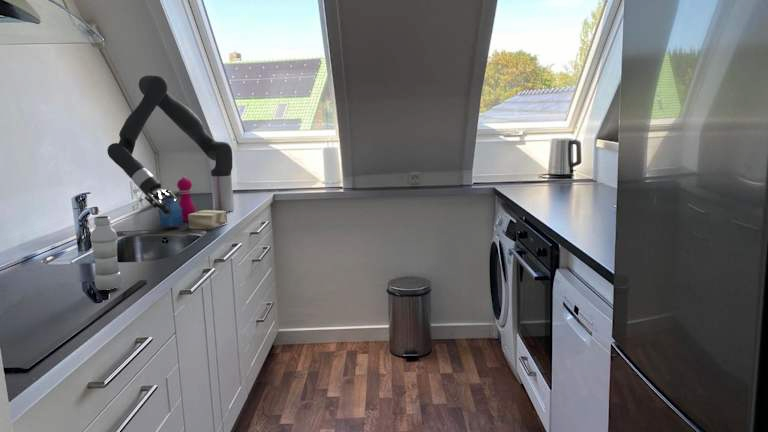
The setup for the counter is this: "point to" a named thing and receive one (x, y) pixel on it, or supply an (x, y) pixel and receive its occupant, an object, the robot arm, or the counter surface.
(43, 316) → the counter surface
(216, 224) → the birch block
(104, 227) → the plastic bottle
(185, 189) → the pepper mill
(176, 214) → the perfume bottle
